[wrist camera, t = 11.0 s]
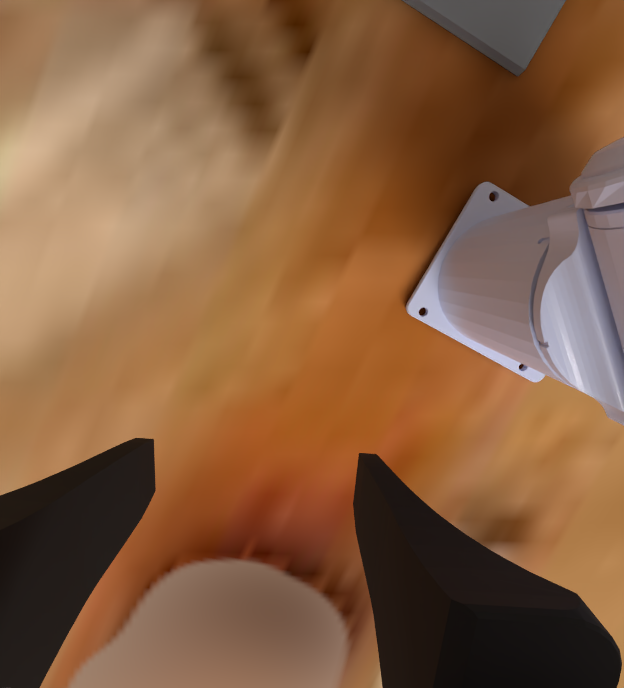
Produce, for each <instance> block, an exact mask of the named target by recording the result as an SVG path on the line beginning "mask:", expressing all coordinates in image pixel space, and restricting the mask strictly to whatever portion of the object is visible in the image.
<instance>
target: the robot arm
mask: <svg viewBox="0 0 624 688" xmlns="http://www.w3.org/2000/svg"><path fill="white" fill-rule="evenodd" d="M569 191H570V193H571V196H567V197H563V198H560V199H556V200H552V201H549V202H545V203H542V204H538V205H534V206H531V207H530V206H528V205H527V204H525V203H523V202H522V201H520V200H518V199H517V198H515V197H514V196H512V195H510V194H509V193H507V192H505V191H504V190H502V189H501V188H499V187H497V186H496V185H494V184H492V183H490V182H483V183H481V184H479V185H478V186H477V187H476V188H475V190H474V191H473V193H472V195H471V196H470V198H469V200H468V201H467V203H466V205H465V206H464V208H463V210H462V212H461V213H460V215H459V217H458V218H457V220H456V222H455V223H454V225H453V227H452V228H451V230H450V232H449V233H448V235H447V237H446V238H445V240H444V242H443V243H442V245H441V247H440V248H439V250H438V252H437V253H436V255H435V257H434V259H433V260H432V262H431V264H430V265H429V267H428V269H427V270H426V272H425V274H424V275H423V277H422V279H421V280H420V282H419V284H418V285H417V287H416V289H415V290H414V292H413V294H412V295H411V297H410V299H409V300H408V302H407V304H406V311H407V313H408V314H409V315H411V316H413V317H415V318H417V319H418V320H420V321H422V322H424V323H426V324H427V325H429V326H431V327H433V328H435V329H437V330H438V331H440V332H442V333H444V334H446V335H448V336H449V337H451V338H453V339H455V340H457V341H459V342H460V343H462V344H464V345H466V346H468V347H470V348H471V349H473V350H475V351H477V352H479V353H480V354H482V355H484V356H486V357H488V358H490V359H491V360H493V361H495V362H497V363H499V364H501V365H502V366H504V367H506V368H508V369H510V370H512V371H513V372H515V373H517V374H519V375H521V376H522V377H524V378H526V379H528V380H530V381H532V382H538V381H541V380H542V379H543V378H544V376H545V375H547V376H549V377H552V378H554V379H556V380H558V381H560V382H562V383H564V384H566V385H569V386H571V387H573V388H575V389H577V390H579V391H581V392H583V393H585V394H587V395H589V396H591V397H593V398H595V399H596V400H597V401H598V402H599V403H600V404H601V405H602V406H603V408H604V410H605V412H606V414H607V416H608V418H610V419H612V420H614V421H616V422H618V423H620V424H622V425H624V137H622V138H620V139H619V140H617V141H615V142H613V143H611V144H609V145H607V146H605V147H603V148H602V149H600V150H598V151H597V152H595V153H594V154H593V155H592V157H591V158H590V160H589V161H588V163H587V164H586V166H585V168H584V169H583V171H582V173H581V176H579V177H578V178H576V179H575V180H574V181H573V182H572V184H571V185H570V190H569ZM490 193H493V194H494V195H495V200H494V201H491V200H490V199H489V195H490ZM423 307H424V308H425V309H426V312H425V314H424V315H422V316H420V315H419V310H420V309H421V308H423ZM521 363H522V364H524V366H523V367H522V368H521V369H519V365H520V364H521ZM154 493H155V463H154V439H145V438H135V439H132V440H129V441H127V442H124V443H122V444H120V445H118V446H116V447H113V448H111V449H109V450H107V451H105V452H103V453H101V454H99V455H96V456H94V457H92V458H90V459H88V460H86V461H84V462H82V463H79V464H77V465H75V466H73V467H70V468H68V469H66V470H64V471H61V472H59V473H57V474H54V475H52V476H50V477H48V478H45V479H43V480H40V481H38V482H36V483H33V484H30V485H28V486H25V487H23V488H20V489H17V490H14V491H12V492H9V493H6V494H3V495H0V688H39V687H40V686H41V684H42V682H43V680H44V678H45V676H46V674H47V672H48V670H49V668H50V666H51V665H52V663H53V661H54V659H55V657H56V655H57V653H58V651H59V650H60V648H61V646H62V644H63V642H64V640H65V638H66V636H67V635H68V633H69V631H70V629H71V627H72V626H73V624H74V622H75V620H76V619H77V617H78V615H79V613H80V611H81V610H82V608H83V606H84V604H85V603H86V601H87V599H88V597H89V596H90V594H91V593H92V591H93V590H94V588H95V586H96V585H97V583H98V582H99V580H100V579H101V577H102V576H103V574H104V573H105V571H106V570H107V569H108V567H109V566H110V564H111V563H112V561H113V560H114V558H115V557H116V555H117V554H118V552H119V551H120V550H121V548H122V547H123V545H124V544H125V542H126V541H127V539H128V538H129V536H130V535H131V533H132V532H133V530H134V529H135V527H136V526H137V524H138V523H139V521H140V520H141V518H142V516H143V515H144V513H145V511H146V509H147V507H148V505H149V503H150V501H151V499H152V497H153V495H154ZM353 507H354V518H355V527H356V534H357V539H358V544H359V548H360V553H361V558H362V562H363V566H364V571H365V576H366V580H367V585H368V589H369V594H370V598H371V603H372V609H373V614H374V621H375V629H376V636H377V644H378V652H379V660H380V668H381V677H382V685H383V688H617V685H618V682H619V678H620V673H621V667H622V661H621V655H620V650H619V648H618V646H617V644H616V643H615V641H614V639H613V638H612V636H611V635H610V634H609V633H608V631H607V630H606V629H605V628H604V626H603V625H602V624H601V623H600V621H599V620H598V619H597V618H596V617H595V615H594V614H593V613H592V612H591V610H590V609H589V608H588V607H587V605H586V604H585V603H584V602H583V600H582V599H581V598H580V597H579V596H578V595H577V594H576V593H574V592H572V591H570V590H568V589H565V588H563V587H561V586H559V585H557V584H555V583H553V582H550V581H548V580H546V579H544V578H542V577H540V576H537V575H535V574H533V573H531V572H529V571H527V570H525V569H523V568H522V567H520V566H518V565H516V564H514V563H512V562H510V561H509V560H507V559H505V558H503V557H501V556H500V555H498V554H496V553H494V552H493V551H491V550H489V549H488V548H486V547H484V546H483V545H481V544H480V543H478V542H477V541H475V540H474V539H472V538H470V537H469V536H467V535H466V534H464V533H463V532H462V531H460V530H459V529H457V528H456V527H454V526H453V525H452V524H450V523H449V522H448V521H447V520H445V519H444V518H443V517H441V516H440V515H439V514H437V513H436V512H435V511H434V510H433V509H431V508H430V507H429V506H428V505H427V504H426V503H424V502H423V501H422V500H421V499H420V498H419V497H418V496H417V495H416V494H415V493H413V492H412V491H411V490H410V489H409V488H408V487H407V486H406V485H405V484H404V483H403V482H402V481H401V480H400V479H399V478H398V477H397V476H396V475H395V473H394V472H393V471H392V470H391V469H390V468H389V467H388V466H387V465H386V464H385V463H384V462H383V461H382V459H381V458H380V457H379V456H378V455H377V454H366V453H359V459H358V467H357V476H356V484H355V493H354V501H353Z"/></svg>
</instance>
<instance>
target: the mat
mask: <svg viewBox="0 0 624 688" xmlns="http://www.w3.org/2000/svg"><path fill="white" fill-rule="evenodd" d="M402 1H404V2H405V3H407V4H408V5H410V6H411V7H413V8H414V9H416V10H417V11H419V12H420V13H422V14H423V15H425V16H427V17H428V18H430V19H431V20H433V21H434V22H436V23H437V24H439V25H440V26H442V27H443V28H445V29H446V30H448V31H449V32H451V33H452V34H454V35H455V36H457V37H458V38H460V39H461V40H463V41H465V42H466V43H468V44H469V45H471V46H472V47H474V48H475V49H477V50H478V51H480V52H481V53H483V54H484V55H486V56H487V57H489V58H490V59H492V60H493V61H495V62H496V63H498V64H499V65H501V66H503V67H504V68H506V69H507V70H509V71H510V72H512V73H513V74H515V75H516V76H519V75H520V74H521V73H522V72H524V71H525V69H526V68H527V66H528V64H529V63H530V61H531V59H532V57H533V56H534V54H535V52H536V51H537V49H538V47H539V45H540V44H541V42H542V40H543V39H544V37H545V35H546V33H547V32H548V30H549V28H550V27H551V25H552V23H553V21H554V20H555V18H556V16H557V15H558V13H559V11H560V9H561V8H562V6H563V4H564V3H565V1H566V0H402Z"/></svg>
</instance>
